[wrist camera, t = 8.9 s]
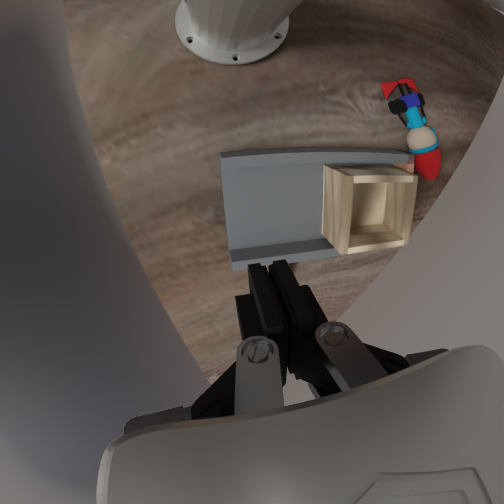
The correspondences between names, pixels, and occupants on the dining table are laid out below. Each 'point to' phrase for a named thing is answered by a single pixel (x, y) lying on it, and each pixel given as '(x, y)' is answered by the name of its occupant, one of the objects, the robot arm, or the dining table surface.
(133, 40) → the dining table surface
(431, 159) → the toy figure
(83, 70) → the dining table surface
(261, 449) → the robot arm
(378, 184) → the crate
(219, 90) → the dining table surface
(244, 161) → the rail bay
